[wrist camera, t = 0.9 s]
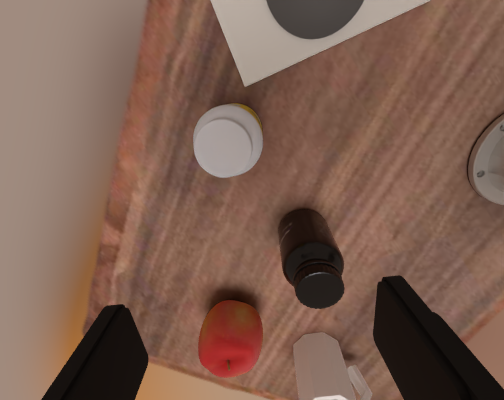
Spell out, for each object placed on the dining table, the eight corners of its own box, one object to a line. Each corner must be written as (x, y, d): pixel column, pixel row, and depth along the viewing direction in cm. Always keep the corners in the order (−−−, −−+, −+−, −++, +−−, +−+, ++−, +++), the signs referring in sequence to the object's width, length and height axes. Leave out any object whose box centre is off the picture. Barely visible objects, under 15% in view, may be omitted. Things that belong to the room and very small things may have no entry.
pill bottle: (256, 162, 32) (254, 196, 21) (206, 151, 32) (178, 180, 21) (268, 109, 30) (272, 117, 19) (213, 96, 29) (186, 98, 18)
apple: (194, 309, 42) (176, 369, 33) (230, 275, 39) (221, 331, 30) (238, 337, 44) (232, 401, 35) (275, 307, 41) (280, 368, 32)
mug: (286, 359, 46) (292, 424, 37) (301, 327, 43) (311, 389, 34) (347, 372, 47) (368, 438, 38) (367, 341, 44) (394, 405, 35)
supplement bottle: (272, 214, 35) (278, 269, 24) (321, 202, 34) (351, 254, 23) (283, 254, 37) (293, 321, 26) (329, 244, 36) (360, 310, 25)
